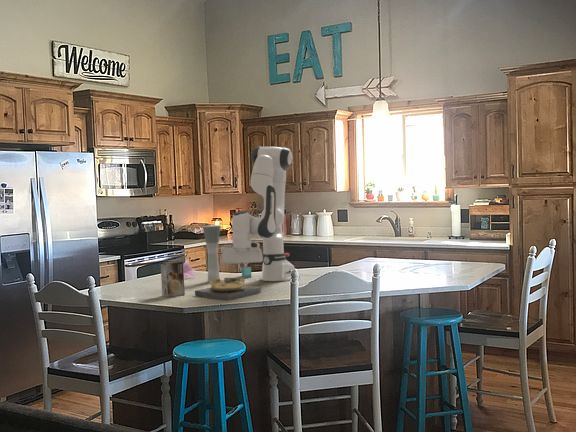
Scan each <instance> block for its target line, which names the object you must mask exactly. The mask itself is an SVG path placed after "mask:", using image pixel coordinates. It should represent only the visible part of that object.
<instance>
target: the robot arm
mask: <svg viewBox="0 0 576 432" xmlns="http://www.w3.org/2000/svg"><path fill="white" fill-rule="evenodd" d="M250 159H251V163H252V165H253V167H252V171H251V175H250V186H251V189H252V190H253V192H255V193H257V194H259V195H260V196H262V198H263V210H262V212H261V214H260V216H259V217H257V216H253V215H251V213H249V211H247V210H240V211H235V212H234V213H233V214H232V219H231V230H232V244H223V245H221V247H220V253H221V263H222V264H225V265H227V264H237V266H238V268H239V273H242V268H246V267H247V266H248V265H247V264H248V263H249V264H252V263H262V262H263V263H262V266H261V267H262V269H261V276H260V279H261V281H265V282H286V281H287V282H288V281H291V280H292V279H291V270H293V269H295V270H296V268H295V266H294V265H293V264H292V263H291V262H289V260H287V257H288V258H289V256H290V253H288V252H285V250H284V246H285V245H284V233H283V227H282V225H283V224H284V219H285V193H286V185H287V184H286V181H287V169H288V168H289V167H291V165H292V164H293V152H292V151H291V149H290V148H287V147H281V146H280V147H279V146H256V147H254V148H253V149H252V150H251V153H250ZM251 237H260V238H262V249H261V248H260V245H261V244H260V243H259V242H257V241H254V240H251ZM241 264H243V267H241ZM298 275H299V277H298V278H300V277H301V276H300V274H298Z"/></svg>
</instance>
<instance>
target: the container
mask: <svg viewBox="0 0 576 432" xmlns="http://www.w3.org/2000/svg"><path fill="white" fill-rule="evenodd" d="M221 228H222V227H221V225H219V224H218V225H204V226H202V230H203V234H204V238H205V245H206V251H207V280H206V281H207V283H210V281H214V279H220V280H221V278H220V267H219V254H218V252H219V243H220V234H221Z"/></svg>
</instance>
